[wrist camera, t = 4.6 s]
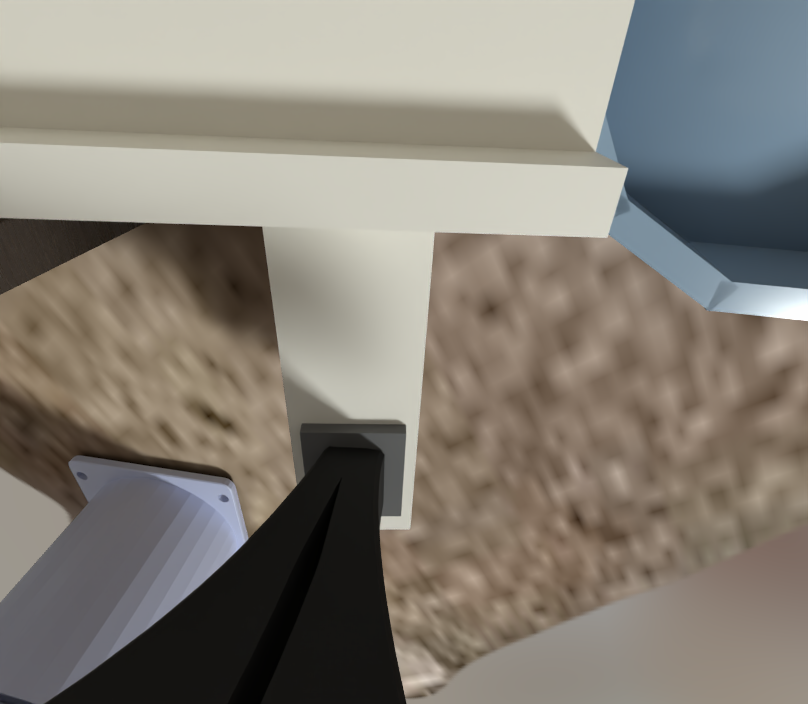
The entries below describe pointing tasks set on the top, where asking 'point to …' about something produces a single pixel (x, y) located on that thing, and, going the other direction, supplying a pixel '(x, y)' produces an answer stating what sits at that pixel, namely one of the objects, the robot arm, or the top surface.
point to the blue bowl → (716, 150)
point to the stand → (48, 245)
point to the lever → (320, 160)
